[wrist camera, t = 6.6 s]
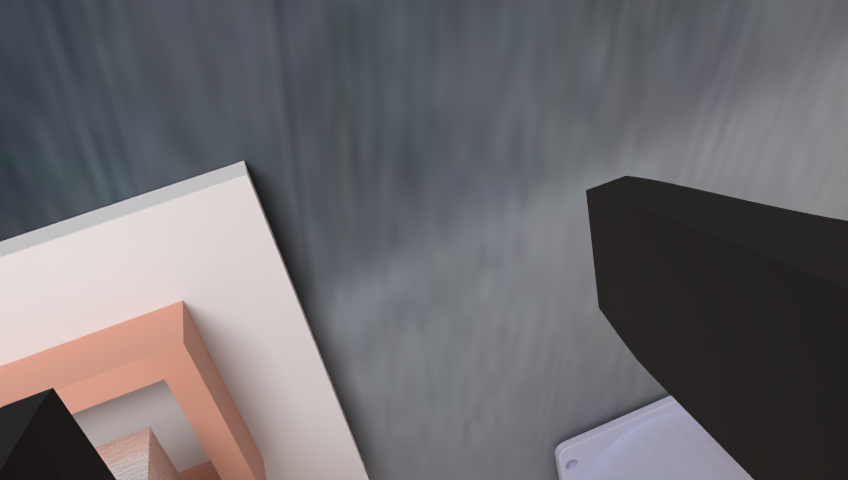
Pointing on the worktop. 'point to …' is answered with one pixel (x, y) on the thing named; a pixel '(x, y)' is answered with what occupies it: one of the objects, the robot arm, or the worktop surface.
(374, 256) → the worktop surface
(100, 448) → the column
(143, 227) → the stand base
